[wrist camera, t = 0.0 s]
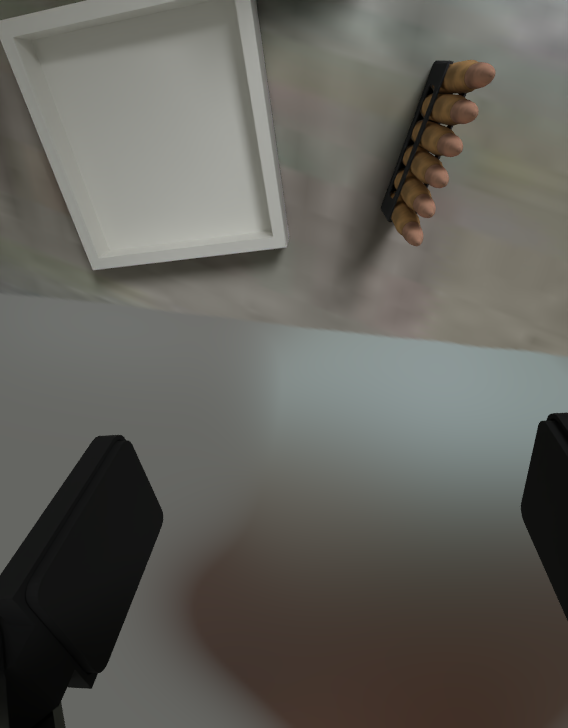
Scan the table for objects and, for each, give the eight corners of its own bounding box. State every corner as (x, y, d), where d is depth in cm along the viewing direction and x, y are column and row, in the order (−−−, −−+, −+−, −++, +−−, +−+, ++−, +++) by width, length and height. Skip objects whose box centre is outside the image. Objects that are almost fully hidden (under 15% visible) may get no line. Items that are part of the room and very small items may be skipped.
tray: (19, 27, 32) (-7, 22, 29) (252, -26, 29) (245, -37, 26) (107, 259, 41) (92, 270, 39) (289, 237, 38) (286, 247, 36)
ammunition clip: (434, 60, 31) (483, 45, 20) (458, 67, 31) (519, 56, 21) (380, 209, 36) (398, 254, 26) (400, 215, 36) (426, 262, 26)
